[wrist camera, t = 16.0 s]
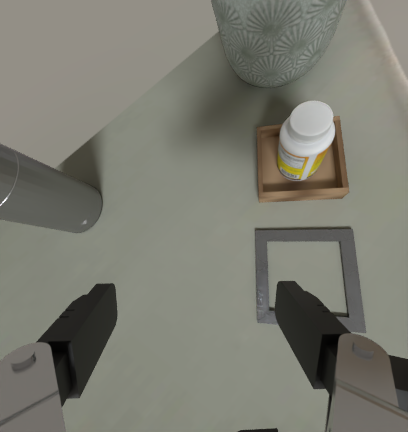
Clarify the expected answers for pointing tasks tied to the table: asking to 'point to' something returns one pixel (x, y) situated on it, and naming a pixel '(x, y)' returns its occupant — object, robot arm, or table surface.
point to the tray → (306, 189)
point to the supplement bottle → (305, 140)
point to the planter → (275, 36)
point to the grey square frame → (348, 262)
